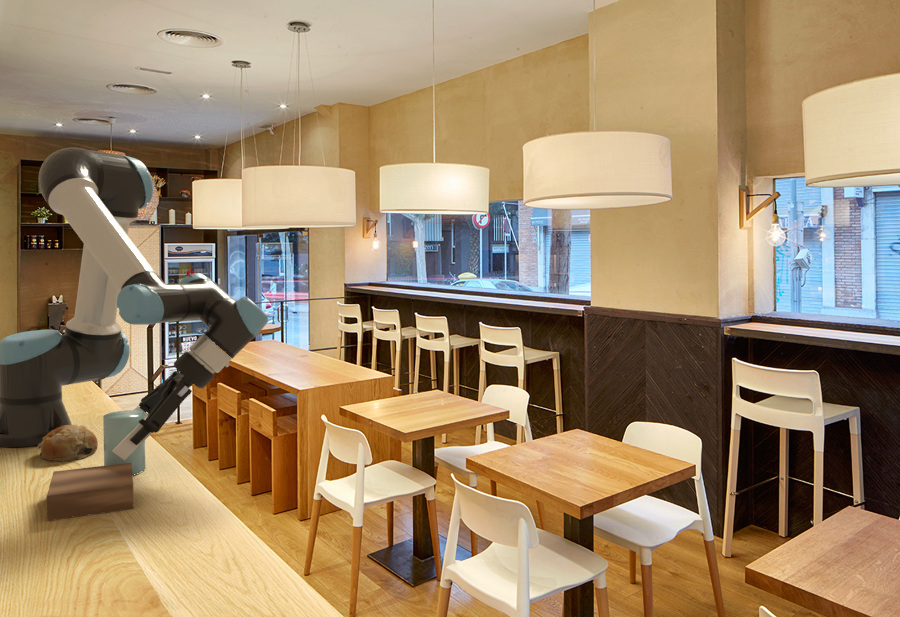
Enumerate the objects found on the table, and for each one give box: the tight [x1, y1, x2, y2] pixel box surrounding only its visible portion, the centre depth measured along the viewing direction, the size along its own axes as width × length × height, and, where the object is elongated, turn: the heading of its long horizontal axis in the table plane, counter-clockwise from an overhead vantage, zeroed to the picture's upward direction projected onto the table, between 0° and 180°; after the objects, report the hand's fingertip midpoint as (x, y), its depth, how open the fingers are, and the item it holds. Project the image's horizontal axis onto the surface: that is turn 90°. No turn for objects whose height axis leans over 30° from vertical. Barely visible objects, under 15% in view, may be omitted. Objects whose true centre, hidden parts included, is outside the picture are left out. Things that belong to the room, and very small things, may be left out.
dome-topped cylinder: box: [102, 409, 146, 476], centre depth 121 cm, size 7×7×11 cm
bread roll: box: [37, 424, 99, 462], centre depth 129 cm, size 10×10×8 cm
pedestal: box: [46, 463, 134, 522], centre depth 106 cm, size 12×12×4 cm
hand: (117, 445), depth 120 cm, fingers open, 13 cm apart
